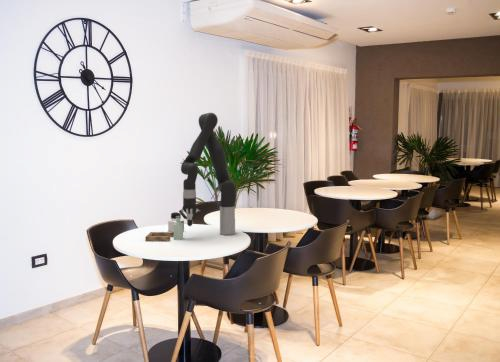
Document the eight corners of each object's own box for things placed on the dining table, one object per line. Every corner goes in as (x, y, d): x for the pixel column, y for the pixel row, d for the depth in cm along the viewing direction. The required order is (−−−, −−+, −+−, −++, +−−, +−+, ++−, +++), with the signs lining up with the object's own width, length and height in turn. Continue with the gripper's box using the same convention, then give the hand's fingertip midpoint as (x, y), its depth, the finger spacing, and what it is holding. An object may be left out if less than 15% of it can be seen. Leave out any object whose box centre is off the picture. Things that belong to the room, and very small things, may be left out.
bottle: (183, 237, 281) (182, 215, 279) (181, 239, 276) (181, 217, 275) (175, 237, 281) (174, 215, 280) (173, 239, 276) (173, 217, 275)
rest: (173, 236, 285) (173, 232, 285) (169, 241, 272) (169, 237, 272) (150, 236, 286) (150, 232, 285) (145, 241, 273) (145, 237, 272)
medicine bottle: (175, 233, 294) (175, 214, 292) (168, 231, 298) (167, 212, 297) (184, 231, 299) (183, 212, 298) (176, 229, 304) (175, 211, 302)
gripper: (201, 196, 279) (201, 224, 281) (179, 195, 280) (179, 224, 282) (200, 197, 272) (200, 227, 274) (177, 197, 272) (177, 227, 274)
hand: (189, 225), depth 278 cm, fingers closed
